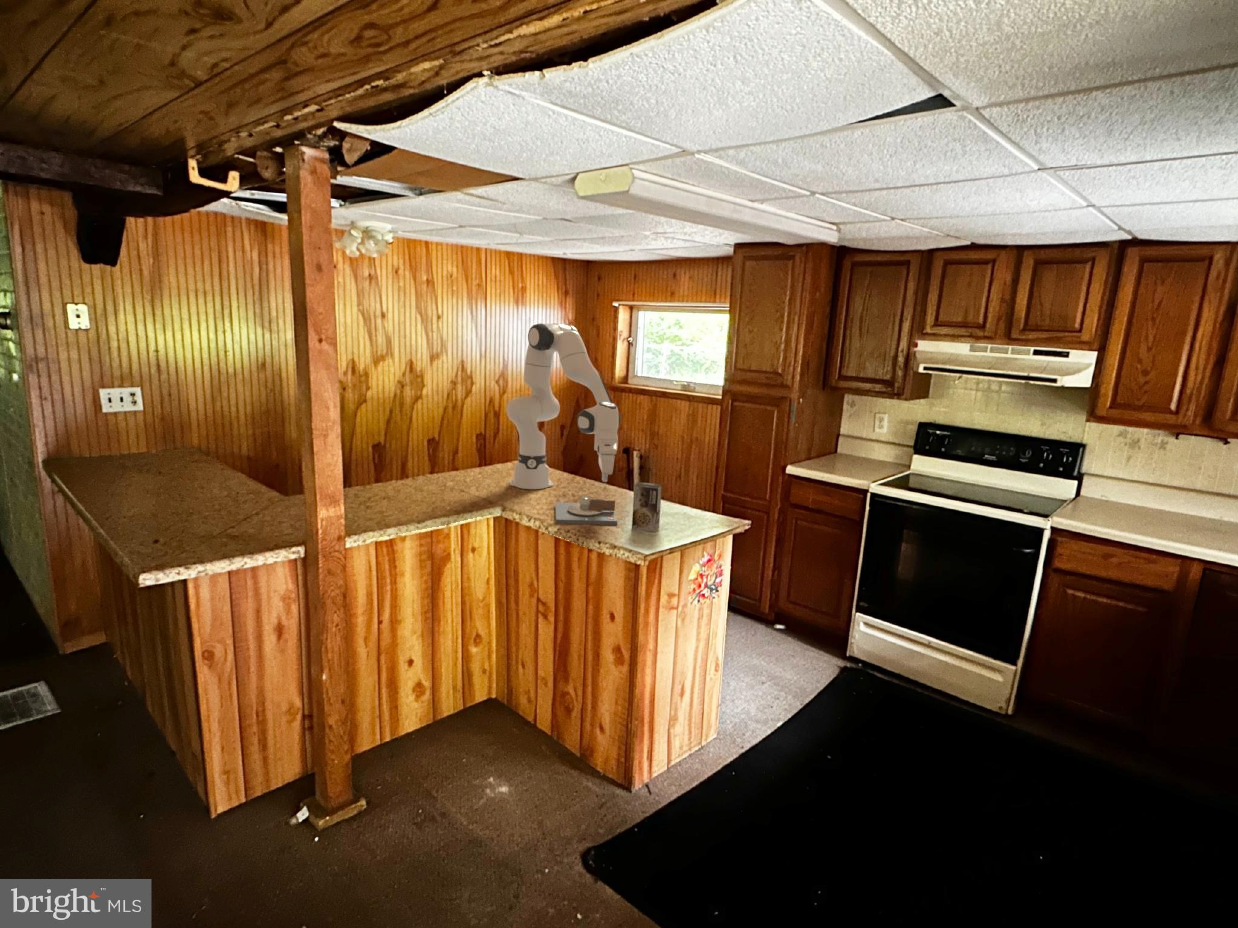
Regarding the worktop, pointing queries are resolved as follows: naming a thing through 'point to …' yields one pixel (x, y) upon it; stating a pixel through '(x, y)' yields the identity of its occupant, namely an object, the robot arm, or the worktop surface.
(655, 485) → the coffee box
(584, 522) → the dial plate
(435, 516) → the worktop surface
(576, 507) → the dial
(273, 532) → the worktop surface
